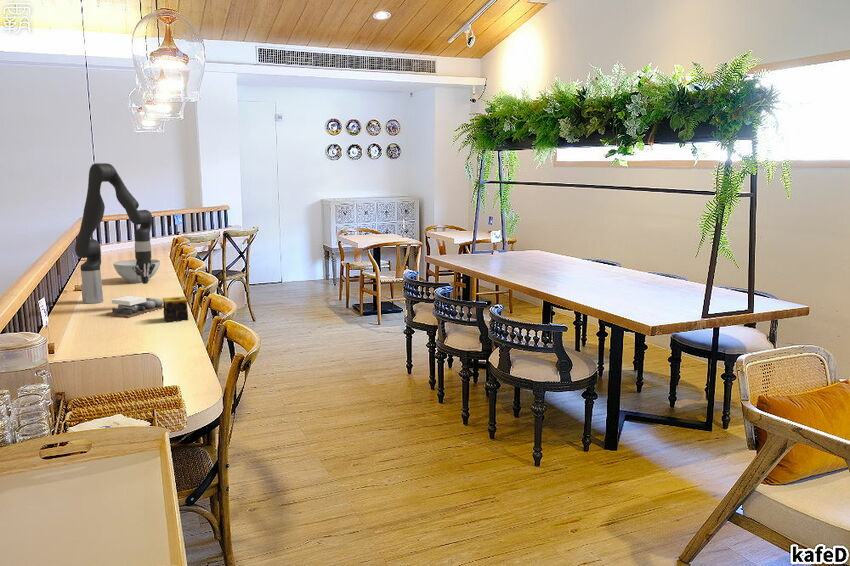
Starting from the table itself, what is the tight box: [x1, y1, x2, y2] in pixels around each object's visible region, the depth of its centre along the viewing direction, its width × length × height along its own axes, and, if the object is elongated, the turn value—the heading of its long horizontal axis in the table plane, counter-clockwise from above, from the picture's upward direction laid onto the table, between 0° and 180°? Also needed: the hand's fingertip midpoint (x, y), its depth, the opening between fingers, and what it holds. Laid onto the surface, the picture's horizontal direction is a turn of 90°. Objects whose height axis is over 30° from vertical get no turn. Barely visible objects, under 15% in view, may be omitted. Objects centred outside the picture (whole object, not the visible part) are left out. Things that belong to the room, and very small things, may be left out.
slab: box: [111, 295, 147, 306], centre depth 318 cm, size 12×10×2 cm
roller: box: [117, 304, 140, 313], centre depth 318 cm, size 10×4×4 cm, turn 67°
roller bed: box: [106, 297, 164, 319], centre depth 323 cm, size 14×24×5 cm, turn 156°
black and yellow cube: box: [162, 296, 189, 323], centre depth 306 cm, size 10×10×10 cm
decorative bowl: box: [112, 258, 161, 284], centre depth 407 cm, size 27×27×12 cm
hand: (144, 283), depth 331 cm, fingers closed
